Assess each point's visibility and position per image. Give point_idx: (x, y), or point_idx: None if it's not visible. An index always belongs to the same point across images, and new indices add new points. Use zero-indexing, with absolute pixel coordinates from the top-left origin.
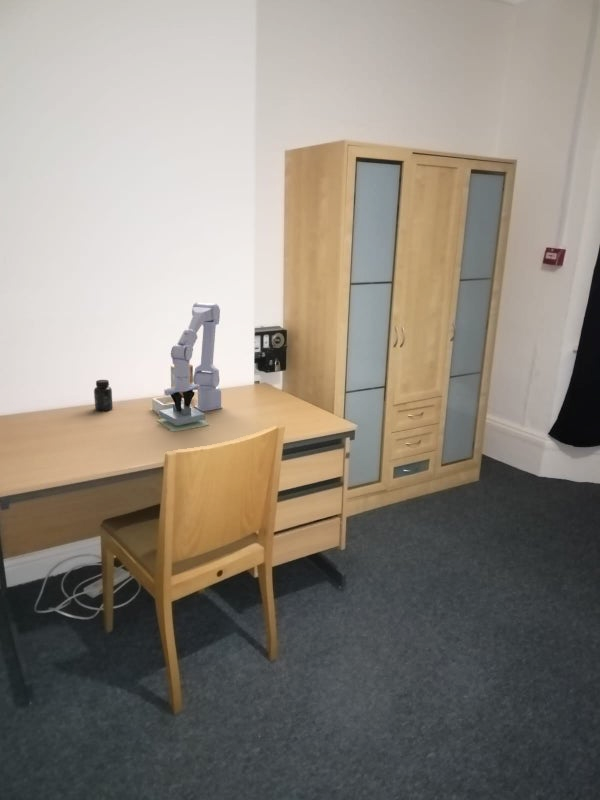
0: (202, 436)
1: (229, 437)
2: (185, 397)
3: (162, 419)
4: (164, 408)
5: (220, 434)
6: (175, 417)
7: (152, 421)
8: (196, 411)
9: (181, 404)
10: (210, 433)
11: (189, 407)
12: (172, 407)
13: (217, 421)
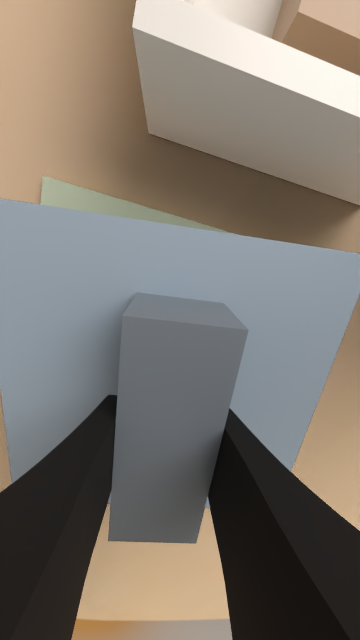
0: (105, 556)
1: (183, 611)
2: (267, 607)
3: (87, 204)
4: (158, 79)
5: (183, 577)
6: (33, 457)
7: (8, 161)
8: (275, 448)
9: (200, 410)
10: (160, 550)
11: (195, 525)
12: (261, 120)
13: (321, 459)
